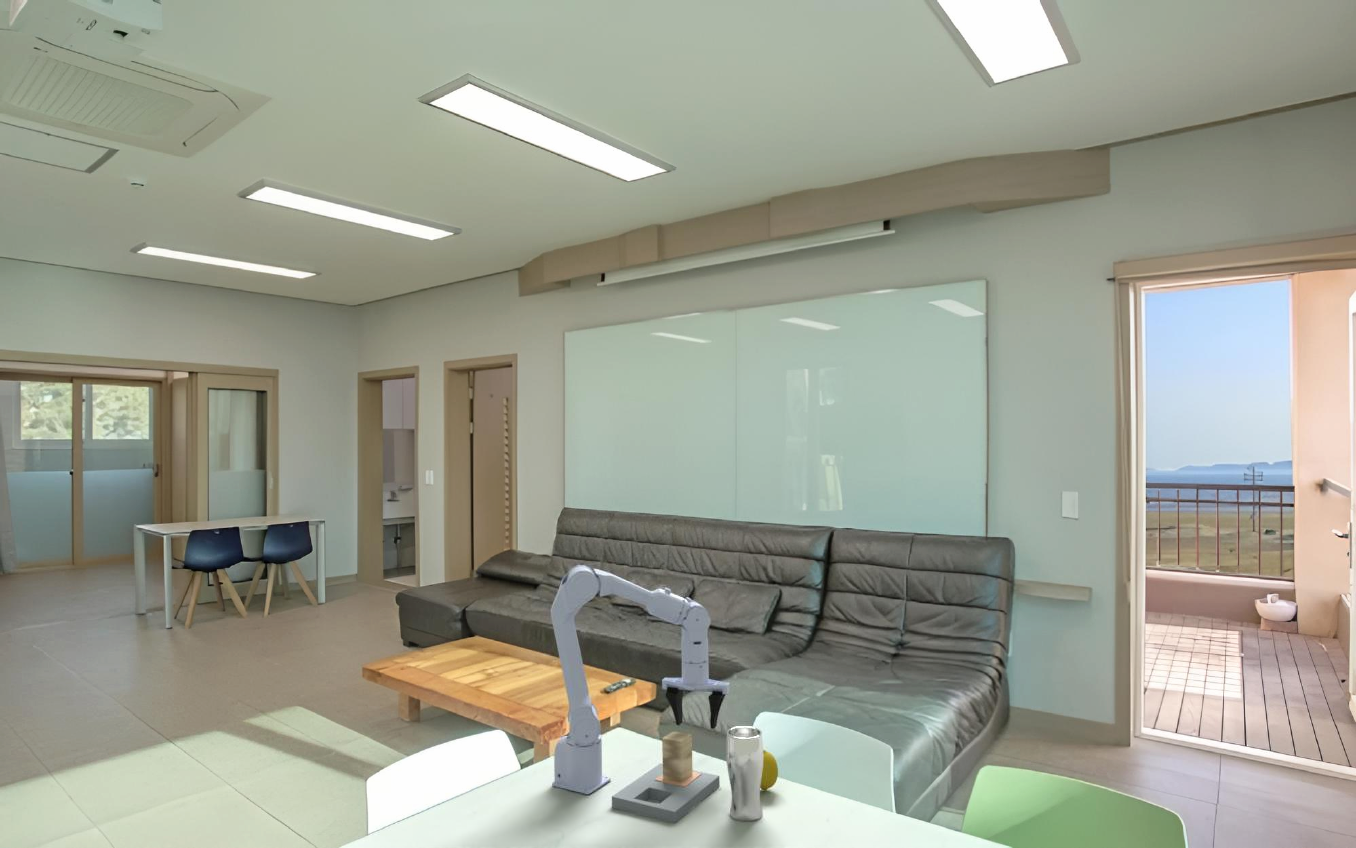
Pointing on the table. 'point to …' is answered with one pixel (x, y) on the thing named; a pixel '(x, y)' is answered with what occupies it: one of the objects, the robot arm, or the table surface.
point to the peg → (677, 756)
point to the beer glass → (745, 771)
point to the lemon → (768, 771)
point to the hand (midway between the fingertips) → (696, 725)
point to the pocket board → (665, 794)
